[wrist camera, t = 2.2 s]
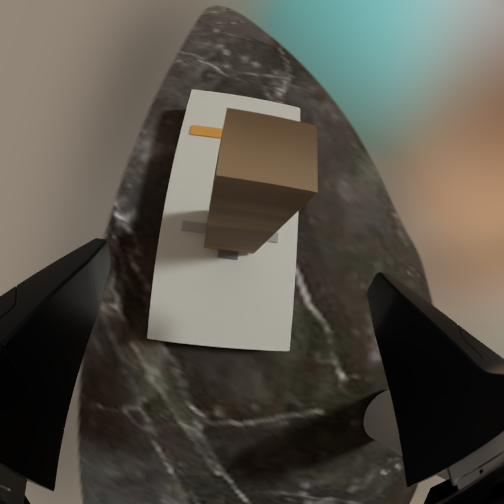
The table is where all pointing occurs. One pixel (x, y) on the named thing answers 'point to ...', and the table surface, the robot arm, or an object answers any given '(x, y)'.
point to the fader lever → (259, 179)
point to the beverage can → (385, 424)
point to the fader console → (214, 260)
